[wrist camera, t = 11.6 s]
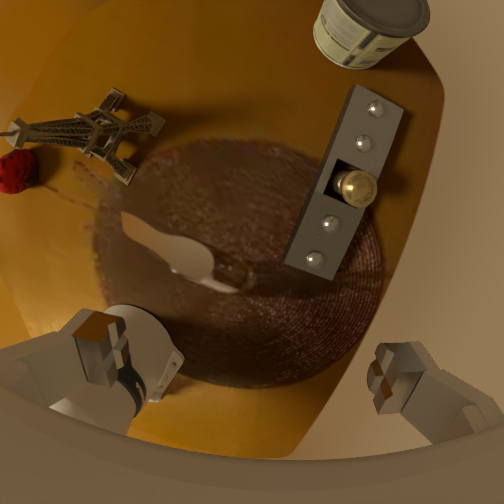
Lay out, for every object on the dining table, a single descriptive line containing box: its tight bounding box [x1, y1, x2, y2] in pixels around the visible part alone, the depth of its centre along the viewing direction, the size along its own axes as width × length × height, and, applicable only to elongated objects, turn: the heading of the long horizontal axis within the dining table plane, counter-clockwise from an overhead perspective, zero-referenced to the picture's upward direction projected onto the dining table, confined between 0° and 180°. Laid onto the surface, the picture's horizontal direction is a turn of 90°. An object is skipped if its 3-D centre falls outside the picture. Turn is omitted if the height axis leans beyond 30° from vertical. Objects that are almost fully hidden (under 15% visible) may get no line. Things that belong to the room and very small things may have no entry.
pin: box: [330, 170, 377, 208], centre depth 33 cm, size 4×4×8 cm
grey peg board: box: [282, 84, 404, 281], centre depth 35 cm, size 25×7×4 cm, turn 159°
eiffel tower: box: [0, 88, 167, 185], centre depth 24 cm, size 11×11×25 cm
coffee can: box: [313, 0, 430, 70], centre depth 23 cm, size 10×10×14 cm
